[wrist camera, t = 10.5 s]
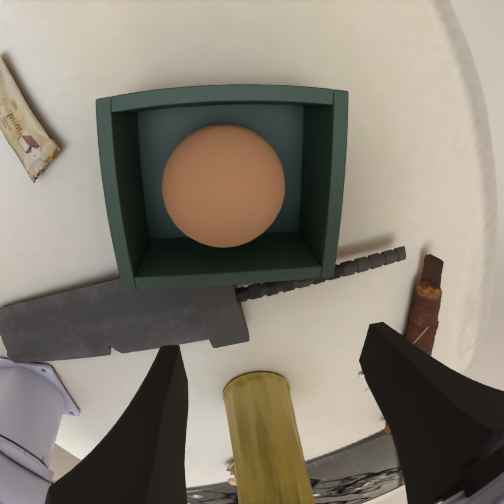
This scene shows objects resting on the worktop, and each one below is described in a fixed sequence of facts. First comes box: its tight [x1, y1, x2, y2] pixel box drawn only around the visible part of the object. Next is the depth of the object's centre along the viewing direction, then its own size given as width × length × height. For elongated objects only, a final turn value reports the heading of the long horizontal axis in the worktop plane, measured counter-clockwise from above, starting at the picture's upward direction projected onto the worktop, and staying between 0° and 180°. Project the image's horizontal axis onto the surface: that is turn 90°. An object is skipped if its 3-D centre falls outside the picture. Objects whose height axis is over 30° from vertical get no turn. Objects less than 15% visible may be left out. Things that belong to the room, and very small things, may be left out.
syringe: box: [359, 330, 426, 392], centre depth 24 cm, size 10×2×2 cm
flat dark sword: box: [0, 246, 406, 363], centre depth 19 cm, size 7×35×2 cm, turn 102°
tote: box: [96, 84, 348, 290], centre depth 14 cm, size 10×9×5 cm
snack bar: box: [0, 56, 60, 183], centre depth 12 cm, size 10×2×3 cm
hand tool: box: [385, 254, 444, 436], centre depth 25 cm, size 26×3×4 cm, turn 11°
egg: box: [162, 123, 285, 248], centre depth 13 cm, size 5×5×7 cm
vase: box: [223, 372, 315, 504], centre depth 19 cm, size 6×6×14 cm
